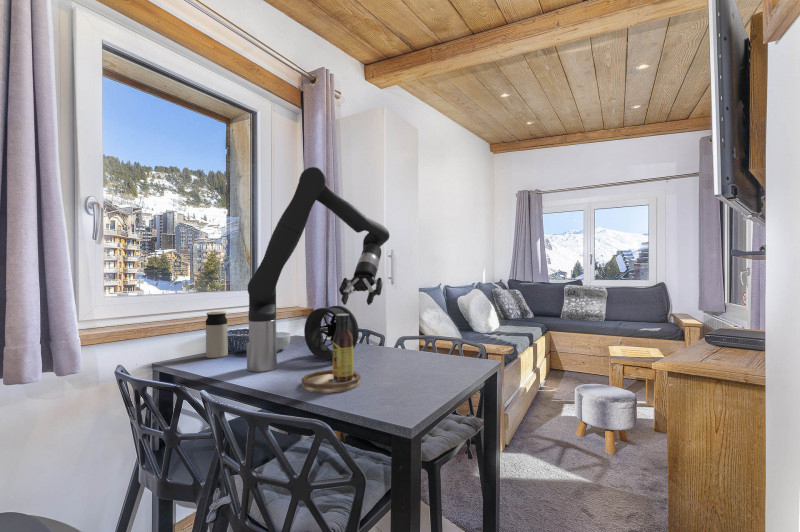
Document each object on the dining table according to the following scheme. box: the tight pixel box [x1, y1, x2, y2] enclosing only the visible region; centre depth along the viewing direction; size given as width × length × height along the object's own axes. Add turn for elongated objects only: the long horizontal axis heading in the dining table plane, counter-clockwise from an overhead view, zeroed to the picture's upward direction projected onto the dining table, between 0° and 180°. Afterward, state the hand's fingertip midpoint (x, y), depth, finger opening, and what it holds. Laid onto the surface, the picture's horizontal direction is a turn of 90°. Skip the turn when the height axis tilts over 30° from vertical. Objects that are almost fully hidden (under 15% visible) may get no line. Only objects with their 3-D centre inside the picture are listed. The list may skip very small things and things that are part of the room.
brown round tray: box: [301, 369, 362, 394], centre depth 121 cm, size 17×17×2 cm
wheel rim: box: [303, 305, 360, 361], centre depth 158 cm, size 20×9×20 cm, turn 60°
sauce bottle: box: [331, 314, 355, 382], centre depth 121 cm, size 7×6×20 cm
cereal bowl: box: [276, 331, 291, 352], centre depth 173 cm, size 17×17×7 cm
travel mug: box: [205, 310, 229, 359], centre depth 164 cm, size 8×8×18 cm
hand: (356, 303), depth 132 cm, fingers open, 8 cm apart
